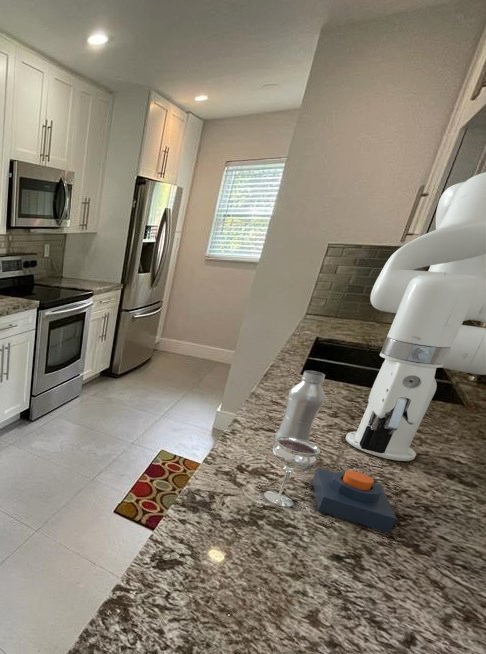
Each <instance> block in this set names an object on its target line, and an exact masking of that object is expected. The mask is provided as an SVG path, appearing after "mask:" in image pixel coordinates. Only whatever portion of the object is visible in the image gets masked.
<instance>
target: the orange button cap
mask: <svg viewBox="0 0 486 654" xmlns="http://www.w3.org/2000/svg"><path fill="white" fill-rule="evenodd" d="M344 472H345V475H344V477H343V481H344V482H345V483H346V484H348V485H350V486H352V487H354V488H358V489H362V490H370V488H371V486H372V484H373V482H374V479H373V478H372V477H370V476H369V475H367V474H366V473H363V472H359V471H356V470H346V471H344ZM374 483H375V482H374Z"/></svg>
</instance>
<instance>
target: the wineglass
mask: <svg viewBox="0 0 486 654" xmlns="http://www.w3.org/2000/svg"><path fill="white" fill-rule="evenodd" d="M276 441H277V443H276V444H275V445H273V446H272V449H271V453H272V458H273V460H274V461H275V462H276V464H278V466H280V467H281V468H282V469H283V471H285V472H284V475H283V478H282V482H281V485H280V488H279V491H272V490H267V491H264V493H263V496H264V498H265V499H267V500H268V501H269V502H271V503H272V504H275V505H278V506H281V507H292V506H293V505H294V501H293V500H292V498H290V497H289V496H287V495H285V494H283V491H284V489H285V488H286V484H287V482H288V480H289V478H290V475H291V474H292V473H302V472H306V471H309V470H312V469H313V468H314V467H315V466H316V464H317V462H318V455H319V454H320V453H321V449H320V447H318V446H317V445H316V444H314V443H312V442H311V441H309V442H308V441H305V440H302V439H299V438H295V437H289V436H280V437H277V438H276Z"/></svg>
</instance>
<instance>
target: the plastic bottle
mask: <svg viewBox="0 0 486 654" xmlns="http://www.w3.org/2000/svg"><path fill="white" fill-rule="evenodd" d="M325 378H326V374H325V373H323V372H321V371H316V370H308V369H307V370H304V371H303V374H302V376H301V381H300V382H298V383H297V384H294V385H293V386H292V387H291V388H290V389H289V390H288V394H287V401H286V408H285V411H284V414H283V415H284V416H283V419H282V422H281V424H280V426H279V428H278V430H277V431H276V433H275V434H274V437H273V439H272V445H273V446H274V445H275V444H276V443H277V441H276V438H277V437H280V436H289V437H295V438H299V439H302V440H305V441H308V442H310V438H311V437H310V436H311V432H312V428H313V424H314V423H315V420H316V418H317V416H318V414H319V412H320V410H321V409H322V407H323V405H324V403H325V401H326V394H325V391H324V389H323V387H322V384H324V382H325V381H324V380H325Z"/></svg>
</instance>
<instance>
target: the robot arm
mask: <svg viewBox="0 0 486 654" xmlns="http://www.w3.org/2000/svg"><path fill="white" fill-rule="evenodd" d="M424 267H425V268H426V267H429V268H428V270H427V271H426V270H417V269H420V268H424ZM370 304H371V305H372V307H373V308H374V309H376V310H378V311H381V312H386V313H393V314H395V316H394V318H393V321H392V323H391V326H390V328H389V331H388V333H387V336H386V338H385V340H384V343H383V346H382V348H381V351H380V353H379V356H380V357H381V358H383V359H384V361H383V362H382V364H381V367H380V369H379V372H378V373H377V376H376V378H375V380H374V382H373V385H372V387H371V390H370V392H369V395H368V399H367V400H368V401H367V402H368V403H367V406H366V408H365V411H364V413H363V415H362V417H361V421H360V423H359V425H358V428H357V430H356V431H350V432H348V433H347V434H346V436H345V441H346V442H347V443H348V444H349V445H350V446H352V447H354V448H356V449H357V450H360V451H361V452H365V453H366V454H369V455H373V456H376V457H379V458H382V459H385V460H386V459H387V460H392V461H397V462H410V461H413V460H415V458H416V456H417V453H416V450H414V449H413V447H410V446H411V444H412V442H413V440H414V438H415V436H416V434H417V431H418V429H419V428H420V425H421V423H422V421H423V419H424V417H425V415H426V412H427V411H428V408H429V406H430V404H431V402H432V399H433V398H434V396H435V394H436V391H437V386H438V385H437V384H438V383H437V381H436V378H435V377H436V371H437V369H438V368H442V369H446V370H452V371H455V372H456V371H457V372H462V373H466V374H467V373H468V374H473V375H481V376H482V375H483V376H486V327H481V326H473V325H466V324H463V323H464V322H465V321H475V322H481V323H483V324H484V325H485V326H486V171H484V172H482V173H481V172H480V173H478V174H475V175H473V176H472V177H470V178H468V179H466V181H462V182H461V181H460V182H458V183H455V184H453V185H451V186H449V187H447V188H446V189H445V190H444V192H442V193H441V195H440V198H439V200H438V203H437V208H436V212H435V229H434V230H432V231H429V232H427V233H425V234H422V235H420V236H418V237H416V238H414V239H413V240H411V241H408V242H407V243H405V244H403V245H401V246H400V247H399V248H398V249H397V250H396V251H394V252H393V253H392V254H391V255H390V257H389V258H388V259H387V261H386V262H385V264H384V265H383V267H382V269H381V271H380V273H379V275H378V276H377V278H376V280H375V283H374V285H373V287H372V289H371V292H370Z"/></svg>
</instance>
